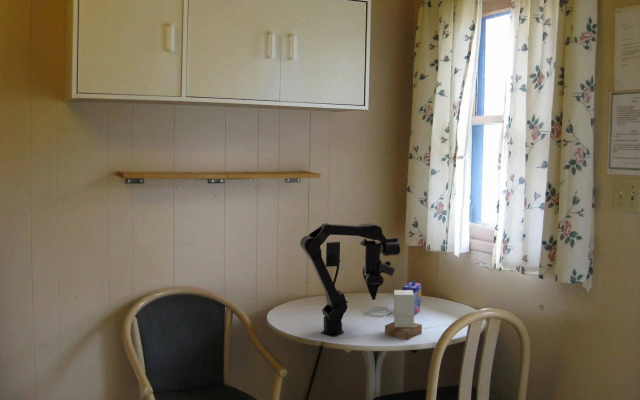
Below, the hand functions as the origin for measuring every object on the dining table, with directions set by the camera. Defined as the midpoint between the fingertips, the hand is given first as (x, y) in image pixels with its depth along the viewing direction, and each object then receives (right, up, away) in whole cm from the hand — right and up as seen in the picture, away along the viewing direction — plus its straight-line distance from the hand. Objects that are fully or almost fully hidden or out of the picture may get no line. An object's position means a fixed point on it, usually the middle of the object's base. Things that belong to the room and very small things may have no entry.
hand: (372, 296), depth 239 cm
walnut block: (+11, -14, -4) cm, 18 cm away
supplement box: (+11, -10, -4) cm, 16 cm away
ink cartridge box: (+18, -11, +24) cm, 32 cm away
